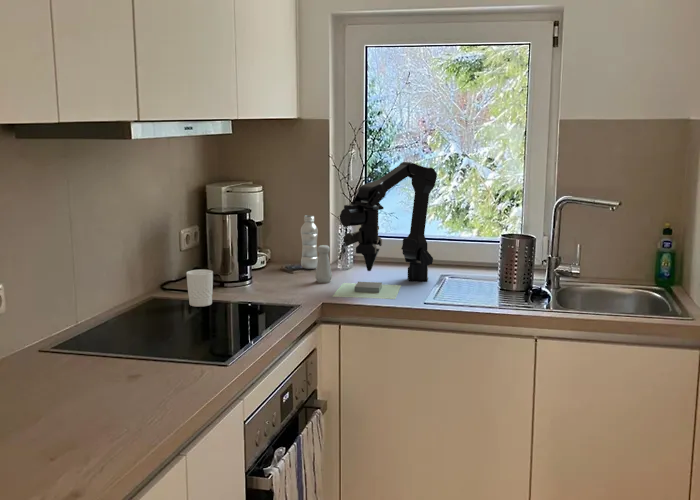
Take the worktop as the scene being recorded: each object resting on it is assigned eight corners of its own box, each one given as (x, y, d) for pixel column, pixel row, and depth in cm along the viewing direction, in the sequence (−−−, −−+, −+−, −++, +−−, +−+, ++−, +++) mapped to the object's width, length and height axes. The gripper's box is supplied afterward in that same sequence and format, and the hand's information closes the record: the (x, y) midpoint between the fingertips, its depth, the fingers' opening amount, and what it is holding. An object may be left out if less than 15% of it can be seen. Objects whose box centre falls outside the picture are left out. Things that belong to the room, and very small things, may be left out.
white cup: (185, 302, 232) (184, 270, 230) (210, 300, 235) (209, 268, 233) (190, 308, 224) (189, 275, 223) (216, 305, 228) (215, 273, 226)
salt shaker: (331, 284, 257) (331, 247, 254) (314, 284, 257) (314, 247, 254) (332, 281, 262) (332, 244, 260) (315, 280, 262) (315, 244, 260)
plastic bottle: (318, 270, 280) (318, 217, 277) (300, 270, 280) (299, 217, 277) (319, 267, 287) (318, 215, 283) (301, 267, 287) (301, 215, 283)
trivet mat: (401, 286, 254) (401, 285, 254) (395, 300, 235) (395, 299, 235) (343, 284, 257) (343, 283, 257) (332, 297, 238) (332, 296, 238)
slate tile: (382, 282, 250) (379, 287, 242) (382, 287, 250) (378, 293, 243) (358, 281, 251) (354, 286, 244) (358, 286, 252) (354, 292, 244)
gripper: (349, 219, 255) (349, 264, 258) (340, 227, 237) (340, 275, 240) (382, 220, 253) (381, 265, 256) (375, 228, 235) (374, 277, 238)
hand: (369, 270), depth 248 cm, fingers closed
